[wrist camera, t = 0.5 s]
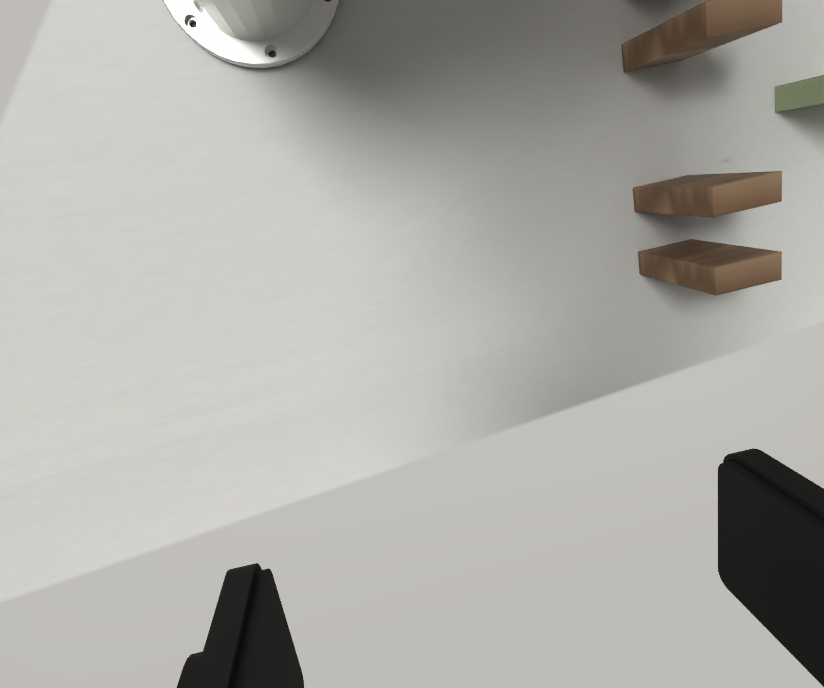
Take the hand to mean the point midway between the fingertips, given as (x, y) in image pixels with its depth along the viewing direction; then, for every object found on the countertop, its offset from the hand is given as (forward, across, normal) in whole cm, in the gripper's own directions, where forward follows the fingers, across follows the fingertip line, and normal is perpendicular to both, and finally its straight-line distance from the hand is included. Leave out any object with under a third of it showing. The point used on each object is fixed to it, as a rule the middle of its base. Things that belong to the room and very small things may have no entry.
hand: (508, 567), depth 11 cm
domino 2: (+35, -25, -3) cm, 43 cm away
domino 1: (+35, -25, -14) cm, 45 cm away
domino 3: (+35, -25, +3) cm, 44 cm away
